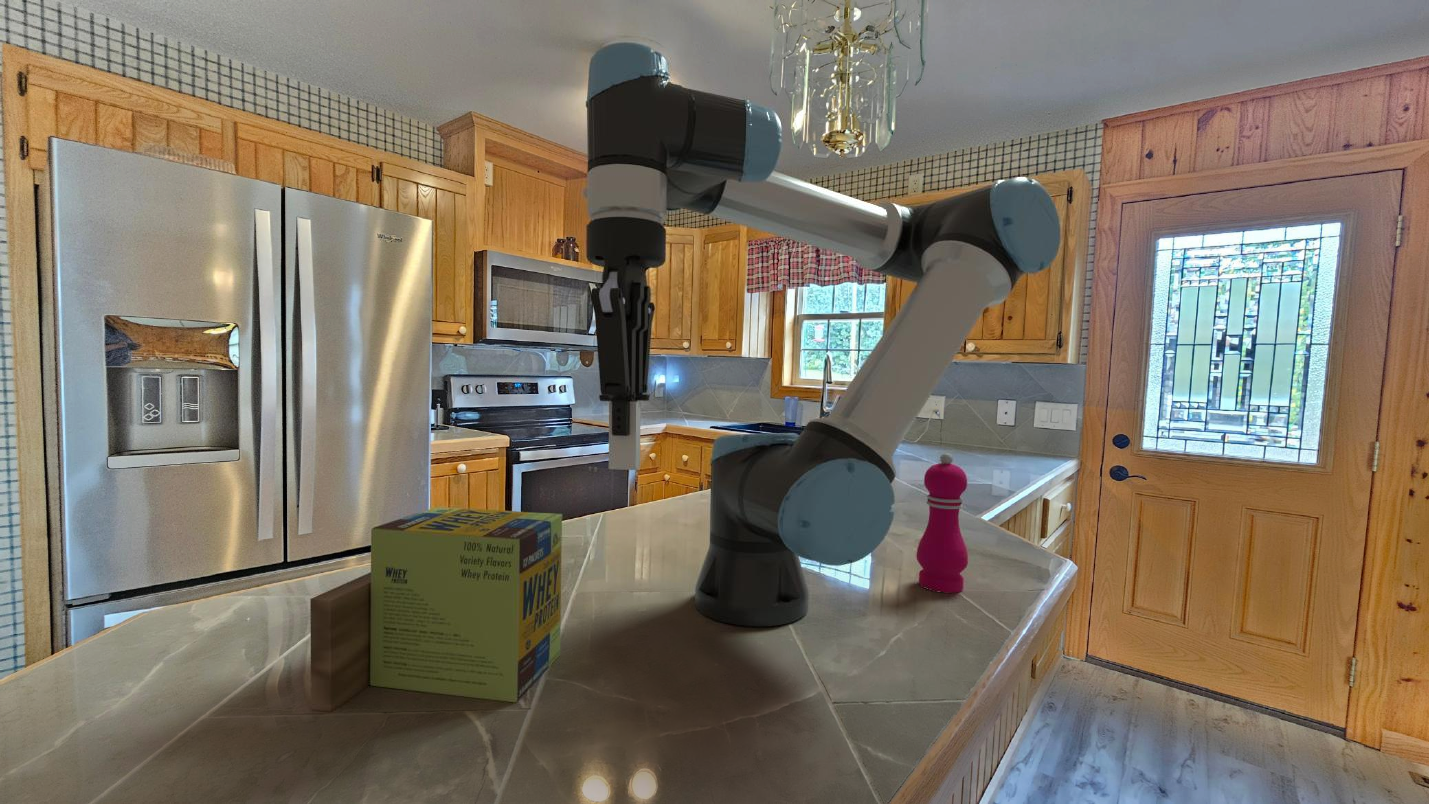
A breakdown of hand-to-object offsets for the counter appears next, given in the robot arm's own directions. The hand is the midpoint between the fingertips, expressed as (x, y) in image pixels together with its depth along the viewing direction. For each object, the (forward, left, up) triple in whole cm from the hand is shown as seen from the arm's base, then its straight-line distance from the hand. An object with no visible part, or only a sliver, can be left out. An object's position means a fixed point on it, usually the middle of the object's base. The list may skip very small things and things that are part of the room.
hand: (624, 468), depth 61 cm
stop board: (+24, 0, -21) cm, 32 cm away
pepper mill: (-38, -38, -22) cm, 57 cm away
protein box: (+16, 0, -22) cm, 27 cm away
